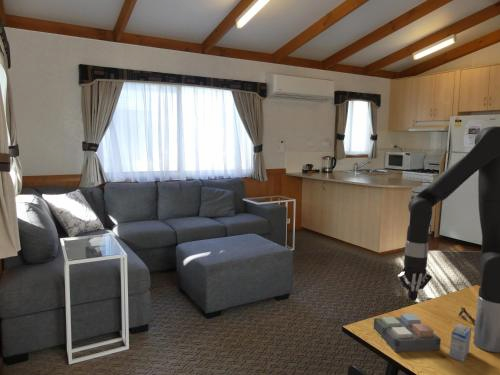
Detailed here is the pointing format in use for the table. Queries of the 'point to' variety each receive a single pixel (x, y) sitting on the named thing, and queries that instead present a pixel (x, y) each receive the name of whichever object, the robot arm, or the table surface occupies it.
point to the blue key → (409, 319)
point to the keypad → (406, 339)
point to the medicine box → (460, 342)
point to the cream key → (401, 332)
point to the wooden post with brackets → (467, 315)
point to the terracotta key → (422, 330)
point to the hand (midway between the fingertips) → (412, 299)
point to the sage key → (390, 322)
